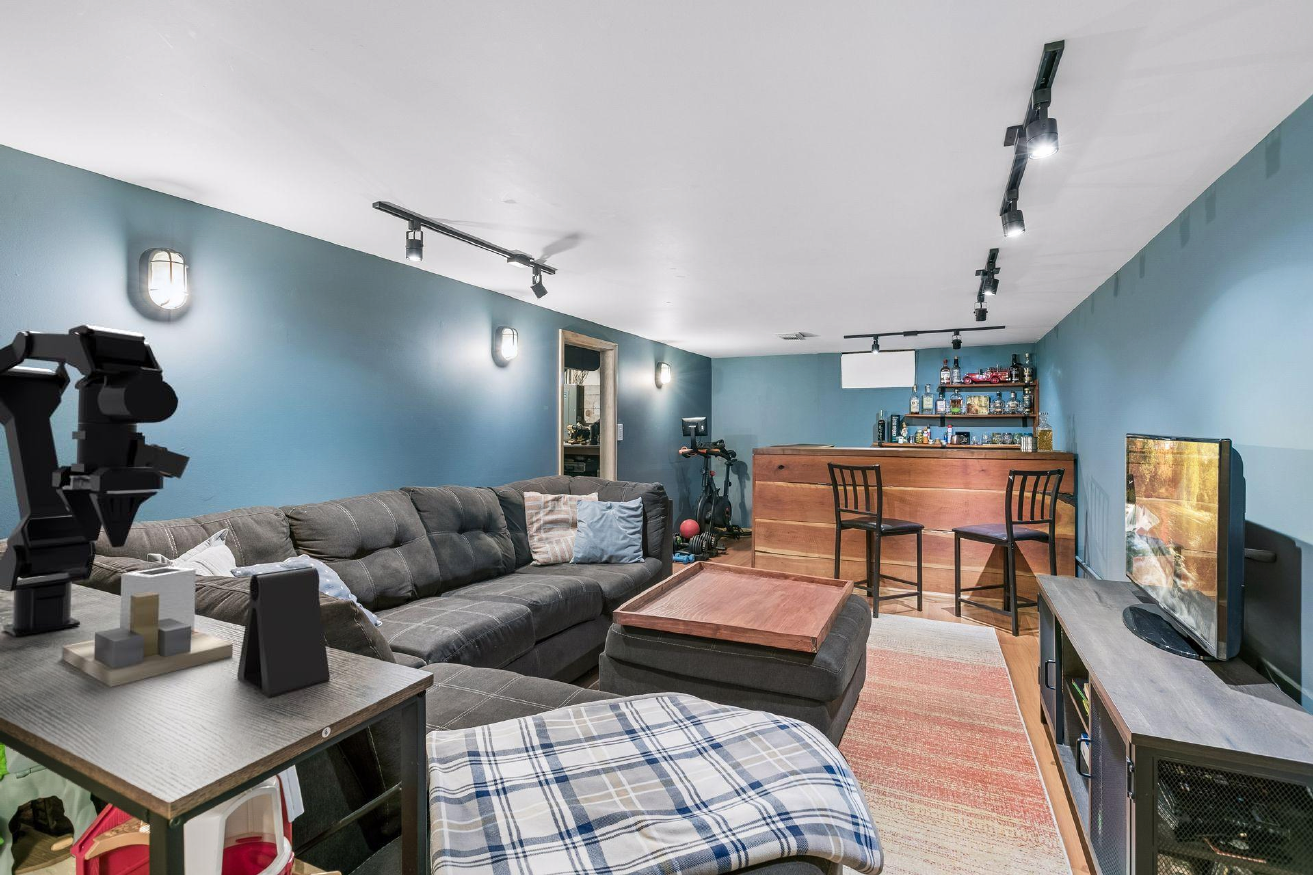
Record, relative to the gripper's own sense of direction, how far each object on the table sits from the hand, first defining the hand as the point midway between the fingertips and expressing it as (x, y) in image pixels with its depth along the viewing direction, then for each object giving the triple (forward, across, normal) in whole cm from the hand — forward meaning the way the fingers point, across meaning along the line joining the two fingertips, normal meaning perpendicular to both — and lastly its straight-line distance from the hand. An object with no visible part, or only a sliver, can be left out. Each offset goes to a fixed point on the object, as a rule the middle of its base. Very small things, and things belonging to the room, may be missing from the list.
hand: (104, 543), depth 78 cm
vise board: (+13, -11, -1) cm, 17 cm away
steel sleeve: (+11, -7, -4) cm, 14 cm away
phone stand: (+13, -32, -6) cm, 35 cm away
